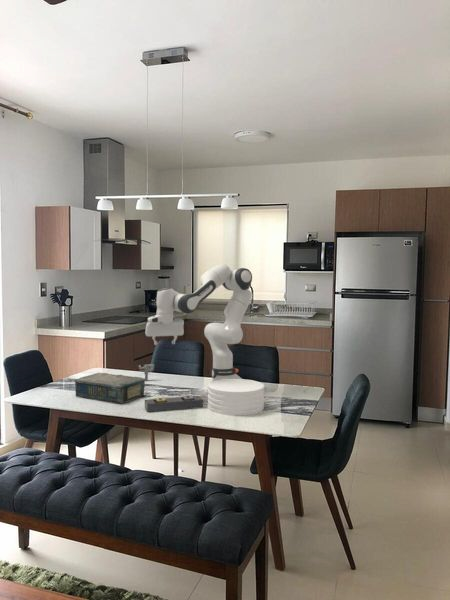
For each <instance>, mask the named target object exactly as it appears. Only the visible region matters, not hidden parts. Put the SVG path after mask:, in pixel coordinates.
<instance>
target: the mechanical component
mask: <svg viewBox="0 0 450 600" xmlns="http://www.w3.org/2000/svg"><path fill="white" fill-rule="evenodd" d="M155 367H156V365H155V364H153V363H152V364H151V363H150V364H144V365H143V366H141V364H139V365H137V368H138V369H139V371H140V372H143V373H144V379H145V382H148V380H149V374H150V373H149V372H153V371H154V369H155Z"/></svg>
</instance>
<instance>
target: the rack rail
mask: <svg viewBox="0 0 450 600" xmlns="http://www.w3.org/2000/svg"><path fill="white" fill-rule="evenodd" d="M191 396H192V397H193V400H185V401H183V400H182V396H178V397H176V396H175V397H164V398H165V399H166V402H159V403H155V398H152V399H151V398H150V399H144V409H145V411H146V412H147V413H152V412H153V413H154V412H164V411H165V412H167V411H175V410H176V411H177V410H188V409H191V410H192V409H202V408H204V398H202V397H201V396H200V395H191Z"/></svg>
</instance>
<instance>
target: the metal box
mask: <svg viewBox="0 0 450 600" xmlns="http://www.w3.org/2000/svg"><path fill="white" fill-rule="evenodd" d="M145 382H146V381H145V377H141V376H130V375H123V374H113V373H107V372H96V373H92V374H89V375H85V376H82V377H80V378H76V379H74V383H75V388H74V389H75V391H74V392H75V397H77V398H82V399H89V400H95V401H101V402H108V403H113V404H119V405H123V404H126V403H128V402H131V401H133V400H134V401H135V400H137V399H139V398H141V397H143V396H144V395H145V386H146V385H145V384H146V383H145Z"/></svg>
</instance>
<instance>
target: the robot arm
mask: <svg viewBox="0 0 450 600" xmlns="http://www.w3.org/2000/svg"><path fill="white" fill-rule="evenodd" d="M252 281H253V274H252V272H251V271H250V269H248V268H246V267H245V268H244V267H241V268H240V267H239V268H238V269H237V268H236V269H233V270H232V269H230V267H229V266H228V265H227V264H225V263H219V264H217V265H215V266H213V267H211V268H209V269H208V270H207V271H205V272H203V274H202V275H201V276H200V279H199V283H200V287H199V288H198V289H197V290H195V291H194V292H193V293H192V292H191V293H188V294H186V293H180V292H178V291H176V290H174V289H173V287H163V288H160V289H158V290H157V291H156V312H155V313H156V314H155V315H152V316H150V317H148V318H147V323H146V325H145V329H144V330H145V336H146V337H148V338H149V337H150V338H152V340H153V343H154V346H158V341H157V340H156V337H172V336H173V340H171V345H176V341H177V339H178V336H183V335H184V334H185V331H184V325H185V321H184V319H183V318H181V317H179V318H178V317H177V318H175V317H174V311H175V312H178V313H183V314H184V313H185V314H189V315H190V314H192V313H193V314H194V312H195V311H196V310H197V309H198V308H199V305H200V304H201V303H202V302H203V301H204V300H206V299H207V298H208V297H209V296H210V295H211V294H212V293H213V292H215V290H217V289H218V288H219V287H221V286H223V288H224V289H226V290H228V291H233V292H232V296H231V297H230V299H229V301H228V303H227V304H226V306H225V308H224V311H223V314H224V317H225V321H224V322H210V323H207V324H206V325H205V327H204V331H203V333H204V337H205V338H206V340H208V342H209V345H210V349H211V351H212V369H211V378H212V379H211V382H213V381H216V380H222V379H243V378H242V377H240V376H239V374H237V373H238V372H239V369H238V368H237V367H236V368H235V367H234V366H233V362H234V360H233V359H234V357H233V356H234V355H233V352H232V351H231V349H230V348H229V346H228V345H235V344H239V343H240V342H241V341H242V339H243V337H244V333H243V332H244V331H243V329H242V327H241V325H242V320H243V318H244V315H245V313H246V311H247V310H248V307H249V305H250V304H251V300H252V295H253V294H252V292H251V290H250V288H251V286H252Z"/></svg>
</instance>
